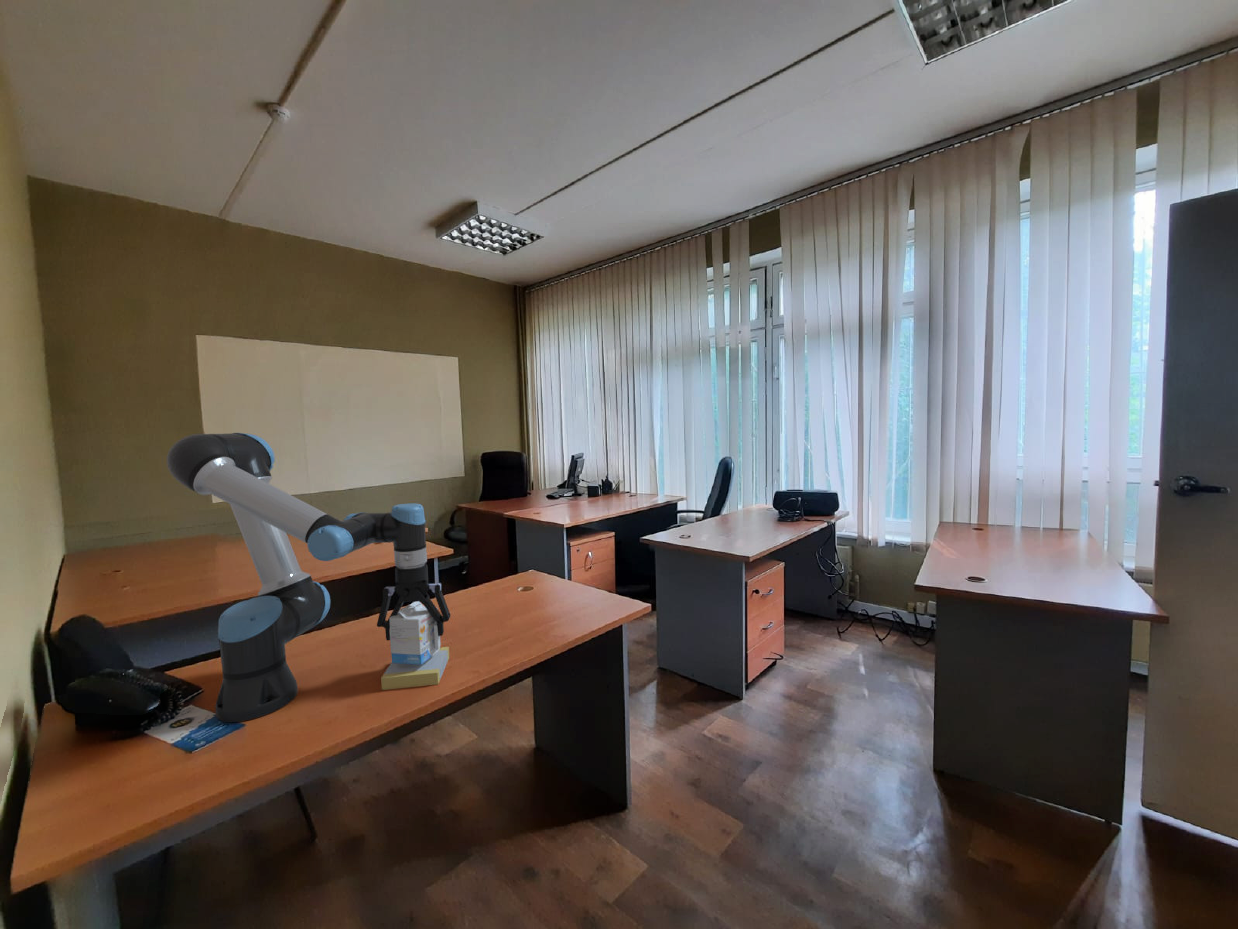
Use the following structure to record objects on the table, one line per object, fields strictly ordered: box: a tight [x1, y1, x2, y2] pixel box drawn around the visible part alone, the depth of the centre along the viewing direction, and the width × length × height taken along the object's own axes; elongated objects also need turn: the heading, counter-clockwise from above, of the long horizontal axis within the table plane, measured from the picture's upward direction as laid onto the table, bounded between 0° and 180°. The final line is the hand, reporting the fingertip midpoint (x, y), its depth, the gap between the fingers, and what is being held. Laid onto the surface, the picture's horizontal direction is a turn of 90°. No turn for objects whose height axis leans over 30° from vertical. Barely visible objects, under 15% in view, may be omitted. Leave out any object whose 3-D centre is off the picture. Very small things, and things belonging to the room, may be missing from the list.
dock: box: [380, 646, 450, 691], centre depth 122 cm, size 13×14×3 cm
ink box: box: [388, 601, 441, 665], centre depth 121 cm, size 9×8×13 cm
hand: (416, 649), depth 122 cm, fingers closed on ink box, 10 cm apart
